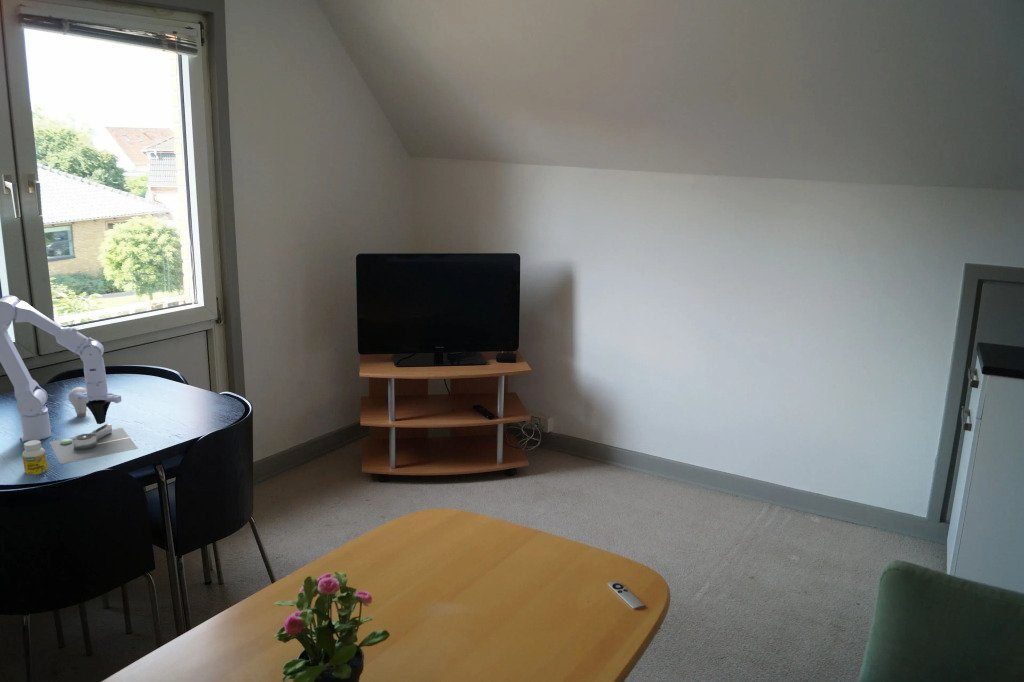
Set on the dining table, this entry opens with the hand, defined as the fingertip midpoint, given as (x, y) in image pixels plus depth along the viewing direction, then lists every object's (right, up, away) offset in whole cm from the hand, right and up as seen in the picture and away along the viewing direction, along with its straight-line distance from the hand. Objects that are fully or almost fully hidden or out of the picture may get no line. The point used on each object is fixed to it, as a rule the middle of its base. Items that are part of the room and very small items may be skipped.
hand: (101, 422), depth 244 cm
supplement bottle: (-3, -12, -28) cm, 31 cm away
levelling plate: (+3, -7, -11) cm, 13 cm away
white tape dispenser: (+2, -4, -8) cm, 9 cm away
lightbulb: (-13, -1, +13) cm, 18 cm away
